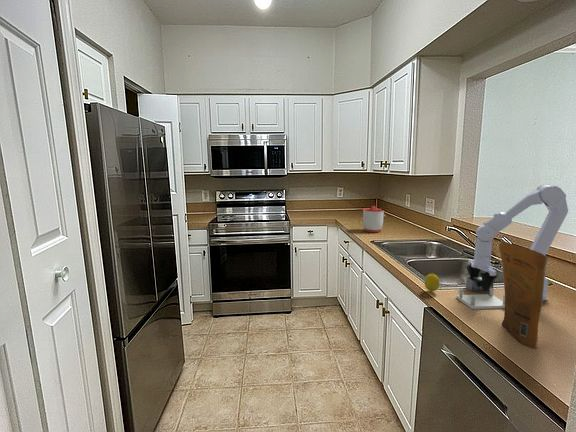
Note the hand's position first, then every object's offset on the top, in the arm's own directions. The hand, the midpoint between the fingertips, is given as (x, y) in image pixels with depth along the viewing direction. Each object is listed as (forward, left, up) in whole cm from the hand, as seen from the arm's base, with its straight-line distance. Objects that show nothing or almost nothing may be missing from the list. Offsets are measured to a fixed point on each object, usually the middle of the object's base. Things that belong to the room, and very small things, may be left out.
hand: (479, 286), depth 133 cm
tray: (+7, +12, -1) cm, 14 cm away
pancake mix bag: (+11, +34, -2) cm, 36 cm away
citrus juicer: (+7, -114, -2) cm, 114 cm away
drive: (0, 0, -2) cm, 2 cm away
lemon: (+21, +1, -2) cm, 21 cm away
